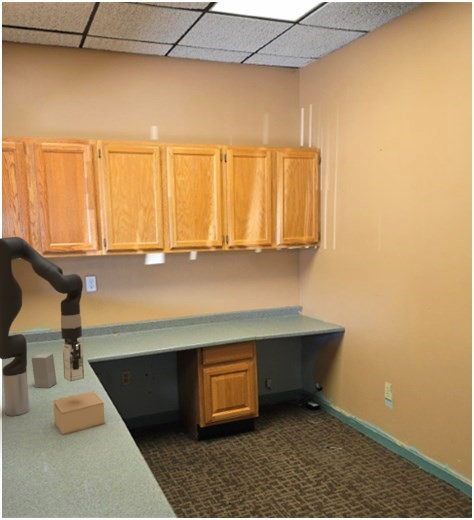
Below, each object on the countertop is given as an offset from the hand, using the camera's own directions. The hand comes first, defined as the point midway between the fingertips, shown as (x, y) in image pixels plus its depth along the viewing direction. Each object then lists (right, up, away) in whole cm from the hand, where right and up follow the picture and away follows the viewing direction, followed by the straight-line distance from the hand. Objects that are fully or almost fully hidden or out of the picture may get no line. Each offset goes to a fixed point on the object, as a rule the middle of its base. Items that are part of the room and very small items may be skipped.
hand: (73, 367), depth 181 cm
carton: (+2, -23, +2) cm, 23 cm away
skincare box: (-31, -21, +48) cm, 61 cm away
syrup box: (0, -5, 0) cm, 5 cm away
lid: (+1, -15, +2) cm, 15 cm away
